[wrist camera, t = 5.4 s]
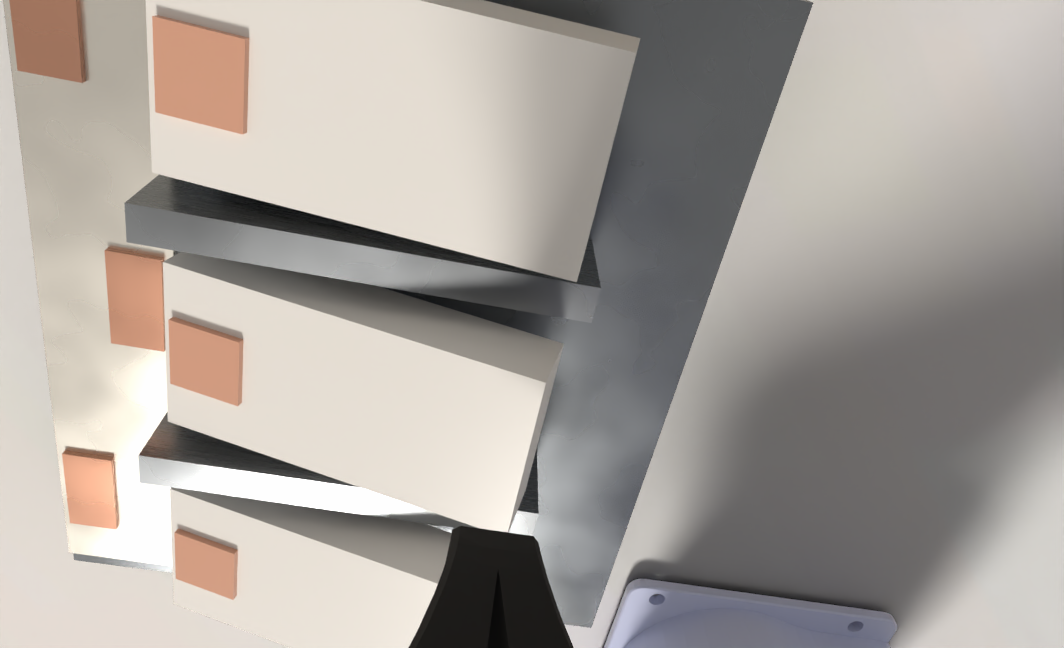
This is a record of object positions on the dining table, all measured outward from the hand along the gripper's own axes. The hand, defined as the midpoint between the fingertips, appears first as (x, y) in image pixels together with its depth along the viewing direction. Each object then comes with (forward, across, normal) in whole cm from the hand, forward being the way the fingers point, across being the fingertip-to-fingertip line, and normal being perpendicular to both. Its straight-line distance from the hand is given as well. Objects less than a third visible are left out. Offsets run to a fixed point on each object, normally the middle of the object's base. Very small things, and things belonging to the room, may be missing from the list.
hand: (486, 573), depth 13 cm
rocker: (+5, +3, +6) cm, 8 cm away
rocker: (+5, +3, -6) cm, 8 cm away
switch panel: (+9, +3, 0) cm, 10 cm away
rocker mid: (+5, +3, 0) cm, 6 cm away
